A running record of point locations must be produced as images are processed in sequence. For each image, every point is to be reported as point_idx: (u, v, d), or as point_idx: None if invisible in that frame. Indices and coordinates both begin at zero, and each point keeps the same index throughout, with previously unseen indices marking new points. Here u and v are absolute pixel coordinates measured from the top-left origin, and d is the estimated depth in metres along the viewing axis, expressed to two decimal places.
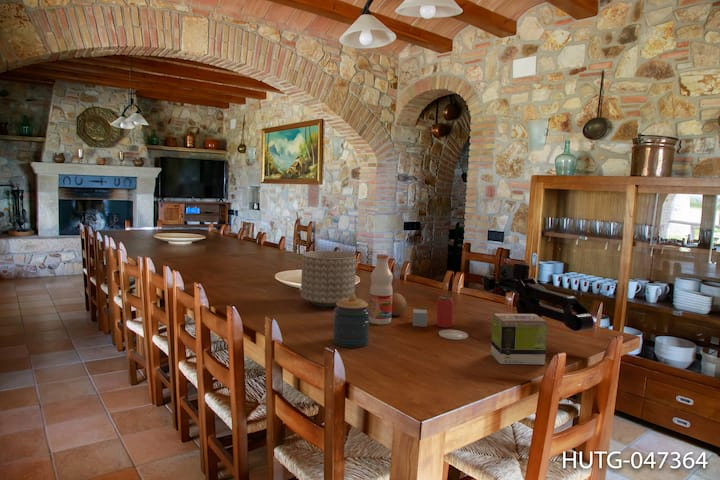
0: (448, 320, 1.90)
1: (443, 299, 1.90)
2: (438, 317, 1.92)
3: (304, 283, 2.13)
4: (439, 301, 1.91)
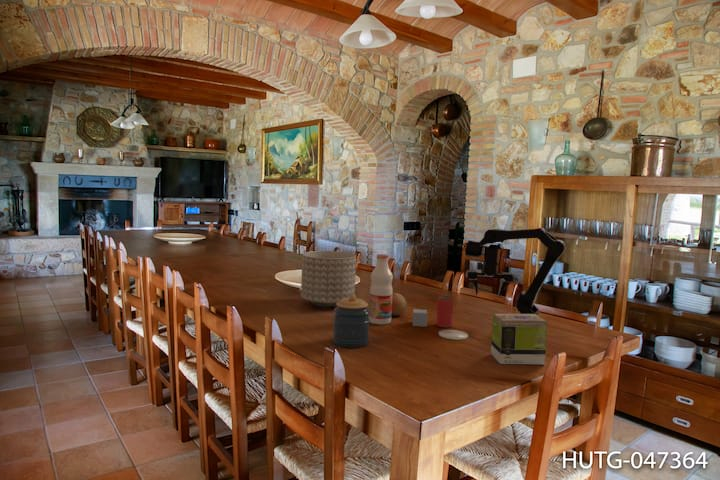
0: (448, 320, 1.90)
1: (443, 299, 1.90)
2: (438, 317, 1.92)
3: (304, 283, 2.13)
4: (439, 301, 1.91)
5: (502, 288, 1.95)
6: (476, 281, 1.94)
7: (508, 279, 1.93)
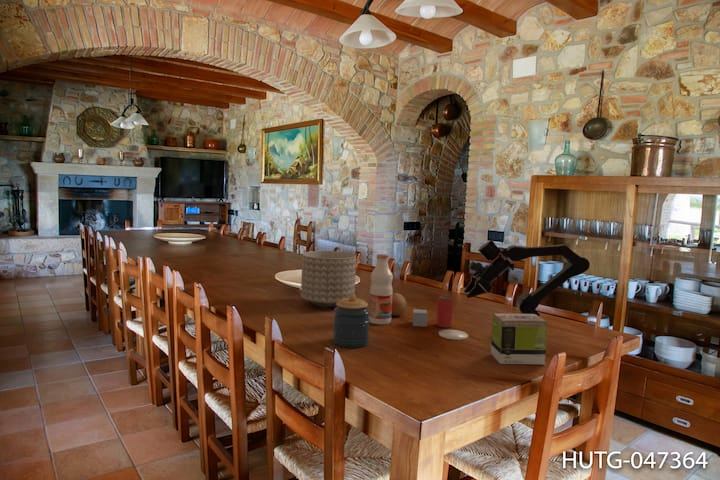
0: (448, 320, 1.90)
1: (443, 299, 1.90)
2: (438, 317, 1.92)
3: (304, 283, 2.13)
4: (439, 301, 1.91)
5: None
6: None
7: None
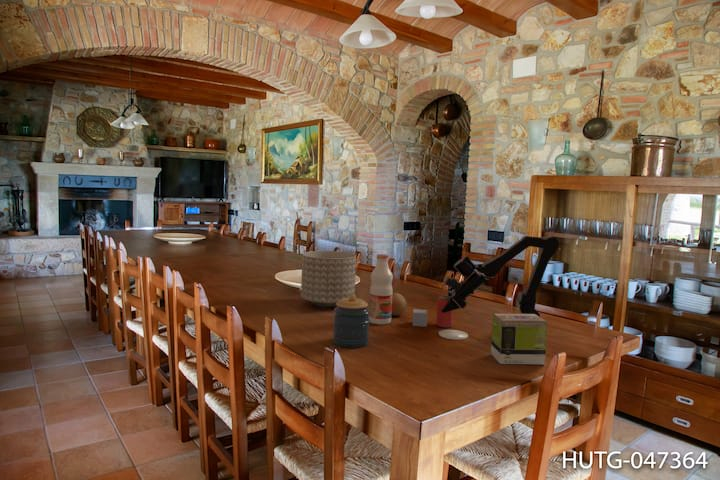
0: (448, 320, 1.90)
1: (443, 299, 1.90)
2: (438, 317, 1.92)
3: (304, 283, 2.13)
4: (439, 301, 1.91)
5: None
6: None
7: None
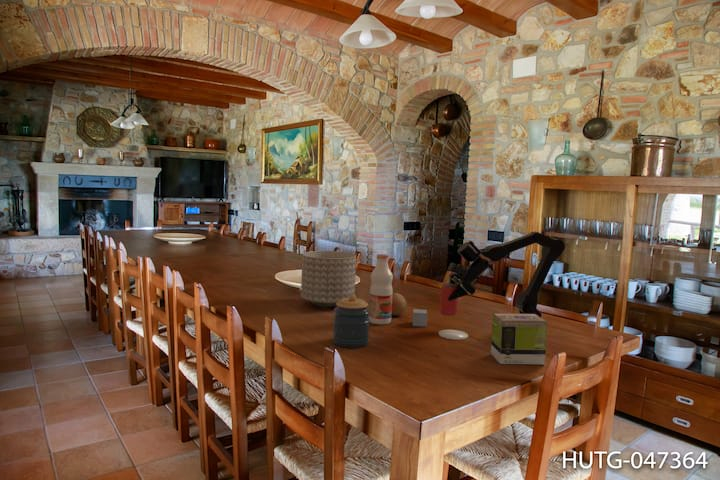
0: (454, 308, 1.83)
1: (449, 286, 1.82)
2: (443, 305, 1.84)
3: (304, 283, 2.13)
4: (444, 289, 1.83)
5: None
6: None
7: None
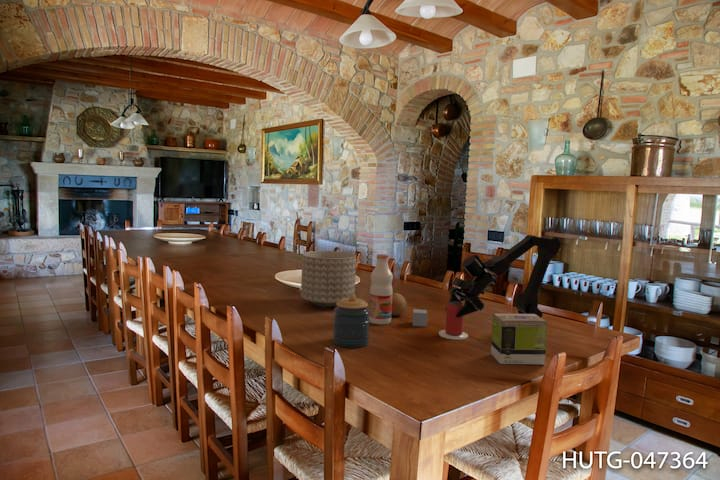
0: (461, 327, 1.78)
1: (455, 305, 1.77)
2: (450, 325, 1.78)
3: (304, 283, 2.13)
4: (451, 308, 1.78)
5: None
6: None
7: None
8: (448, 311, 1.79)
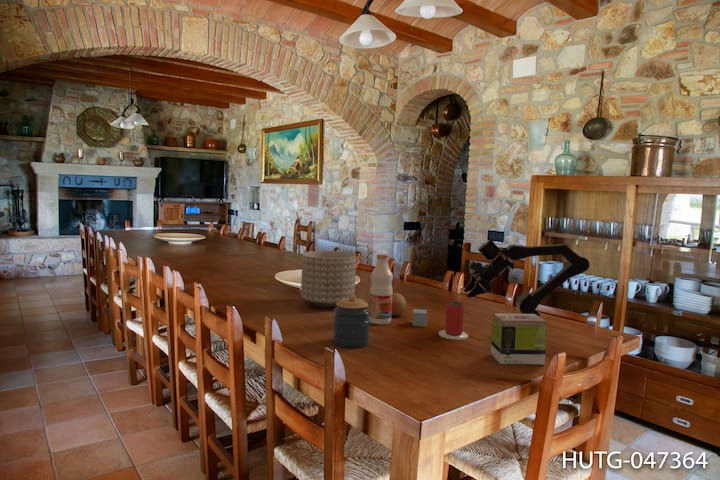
0: (461, 327, 1.78)
1: (455, 305, 1.77)
2: (450, 325, 1.78)
3: (304, 283, 2.13)
4: (450, 308, 1.78)
5: None
6: None
7: None
8: (448, 311, 1.79)
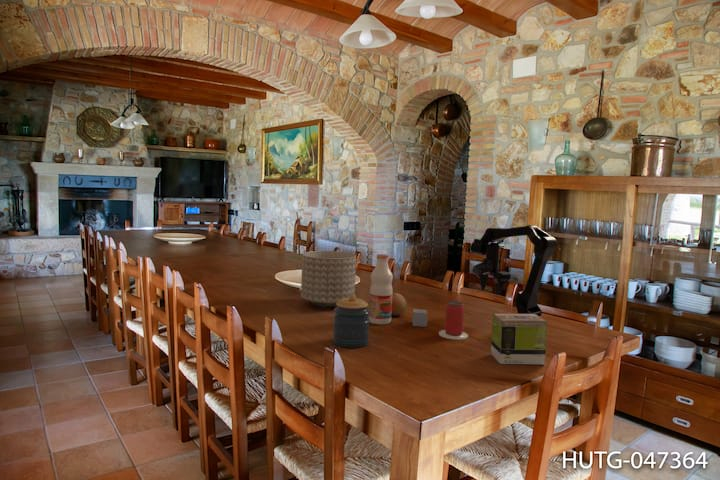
0: (461, 327, 1.78)
1: (455, 305, 1.77)
2: (450, 325, 1.78)
3: (304, 283, 2.13)
4: (451, 308, 1.78)
5: None
6: None
7: None
8: (448, 311, 1.78)
